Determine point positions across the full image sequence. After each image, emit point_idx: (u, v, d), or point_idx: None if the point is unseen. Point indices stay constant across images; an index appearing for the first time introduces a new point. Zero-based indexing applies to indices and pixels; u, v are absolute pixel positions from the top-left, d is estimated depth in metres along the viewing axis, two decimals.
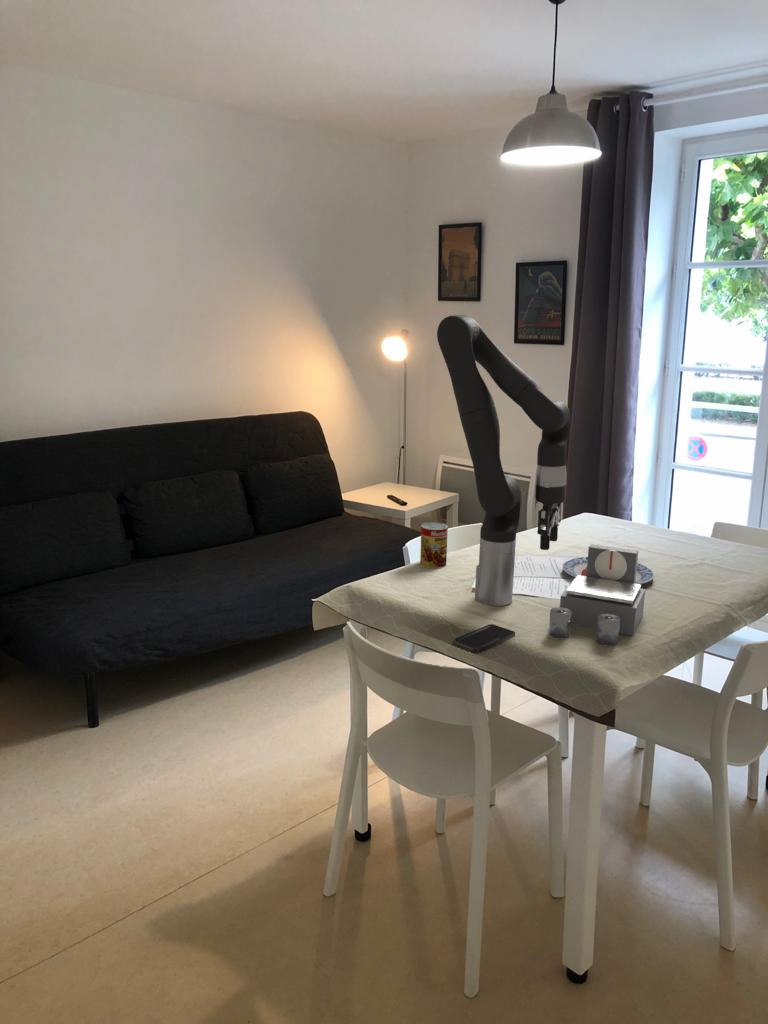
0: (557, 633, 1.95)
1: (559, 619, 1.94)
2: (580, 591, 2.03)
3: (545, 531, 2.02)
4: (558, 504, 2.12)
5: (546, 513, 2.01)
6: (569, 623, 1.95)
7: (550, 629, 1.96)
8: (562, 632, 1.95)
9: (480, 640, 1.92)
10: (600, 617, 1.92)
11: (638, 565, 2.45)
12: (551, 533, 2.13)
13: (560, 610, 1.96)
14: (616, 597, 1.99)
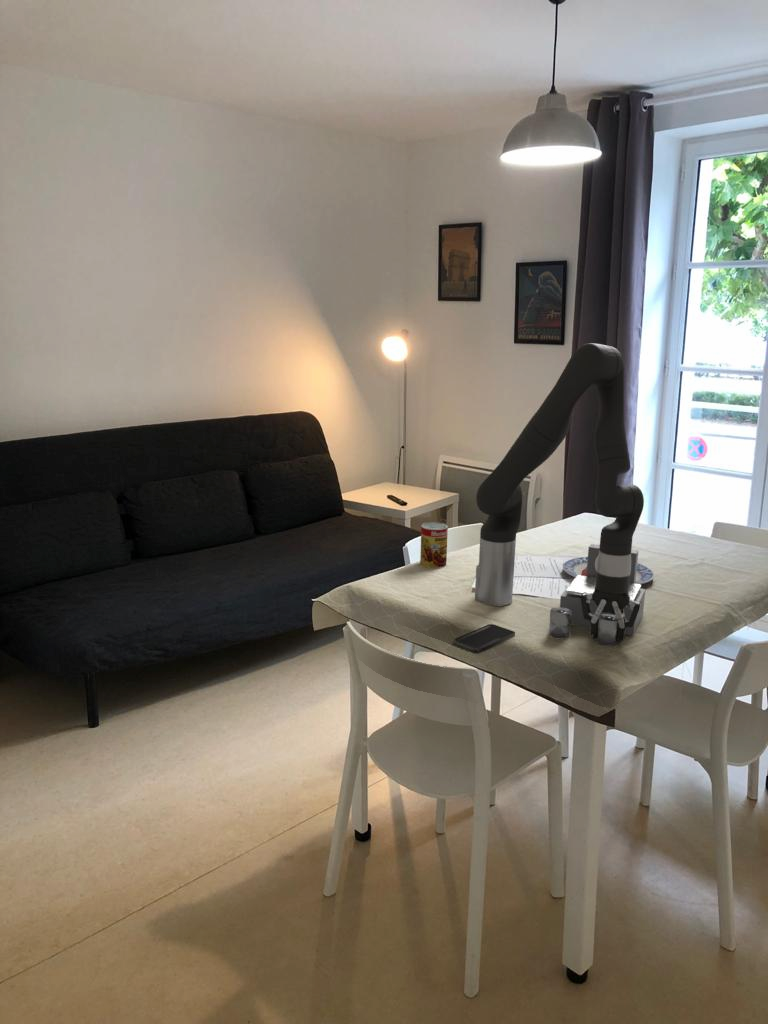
0: (557, 633, 1.95)
1: (559, 619, 1.94)
2: (580, 591, 2.03)
3: (634, 621, 1.91)
4: None
5: None
6: (569, 623, 1.95)
7: (550, 629, 1.96)
8: (562, 632, 1.95)
9: (480, 640, 1.92)
10: (600, 617, 1.92)
11: (638, 565, 2.45)
12: (596, 629, 1.94)
13: (560, 610, 1.96)
14: None
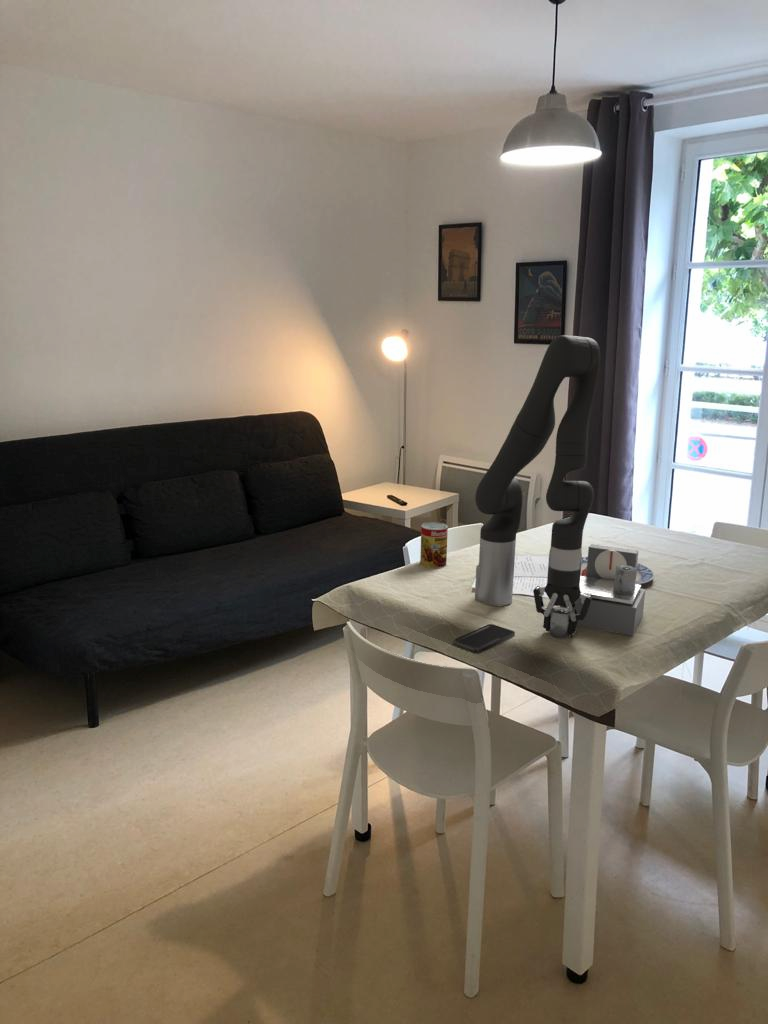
0: (557, 632, 1.95)
1: (559, 619, 1.94)
2: None
3: (585, 614, 1.94)
4: None
5: (591, 598, 1.93)
6: (569, 623, 1.95)
7: (550, 629, 1.96)
8: (562, 632, 1.95)
9: (480, 640, 1.92)
10: (618, 568, 2.01)
11: (638, 566, 2.45)
12: None
13: (560, 610, 1.96)
14: (616, 597, 1.99)
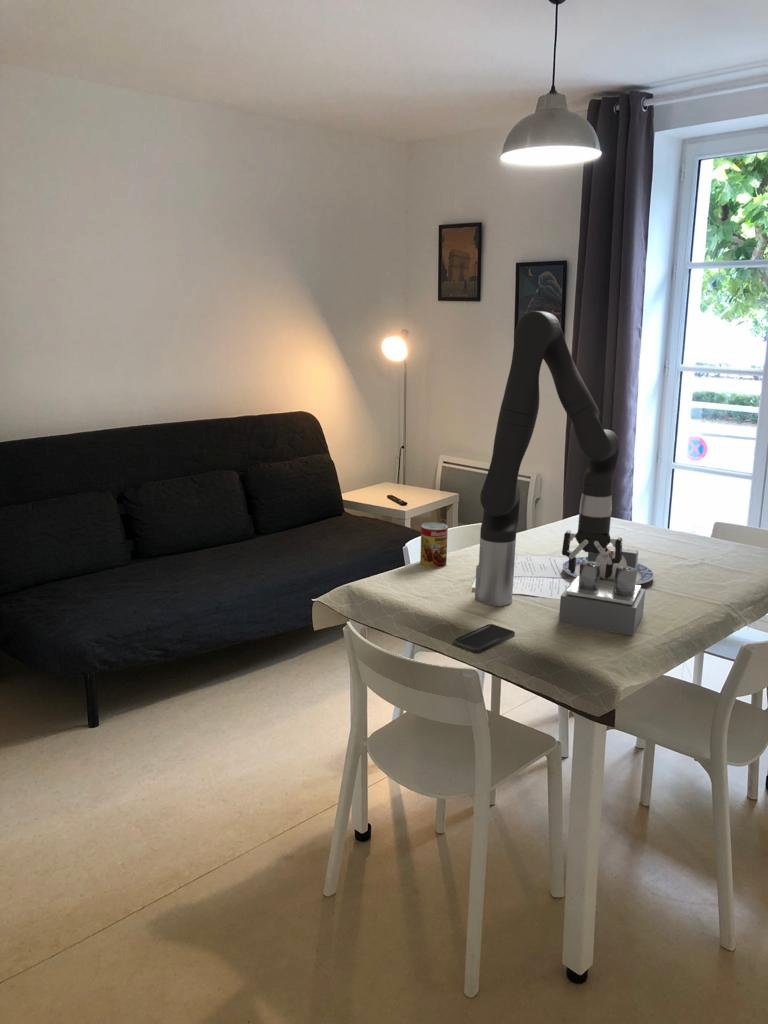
0: (587, 584, 2.04)
1: (589, 572, 2.03)
2: (580, 591, 2.03)
3: (620, 557, 2.02)
4: None
5: None
6: (598, 575, 2.04)
7: (580, 582, 2.05)
8: (592, 584, 2.04)
9: (480, 640, 1.92)
10: (619, 569, 2.01)
11: (638, 565, 2.45)
12: (574, 565, 2.06)
13: (589, 563, 2.05)
14: (616, 598, 1.99)
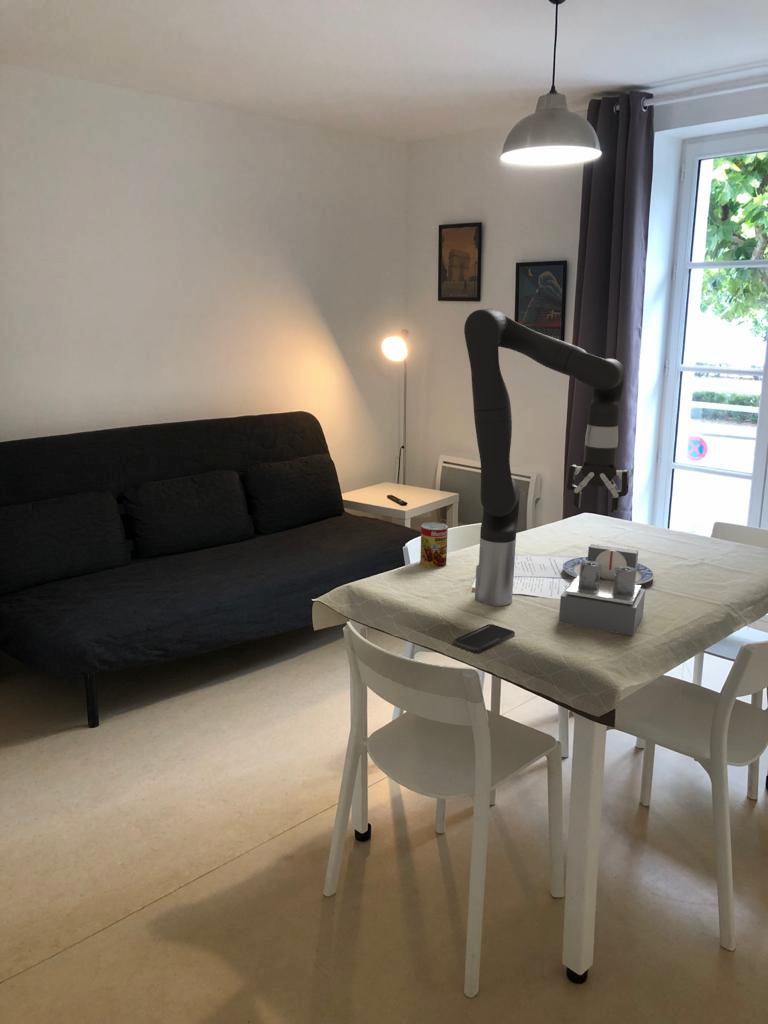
0: (587, 584, 2.04)
1: (589, 571, 2.03)
2: (580, 591, 2.03)
3: (627, 490, 1.98)
4: None
5: (628, 472, 1.97)
6: (598, 575, 2.04)
7: (580, 581, 2.05)
8: (592, 584, 2.04)
9: (480, 640, 1.92)
10: (618, 569, 2.01)
11: (638, 565, 2.45)
12: (579, 500, 2.02)
13: (590, 563, 2.05)
14: (616, 598, 1.99)
